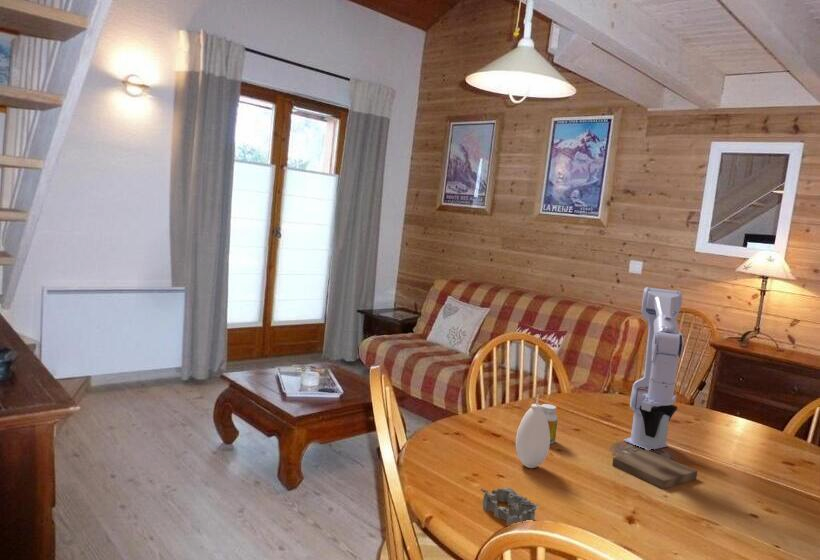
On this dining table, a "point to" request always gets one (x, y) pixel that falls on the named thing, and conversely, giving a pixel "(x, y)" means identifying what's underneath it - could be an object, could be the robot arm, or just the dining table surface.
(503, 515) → the grey hollow block
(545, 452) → the sauce bottle
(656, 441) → the blue-grey block
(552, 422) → the supplement bottle
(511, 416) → the dining table surface
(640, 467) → the walnut board
